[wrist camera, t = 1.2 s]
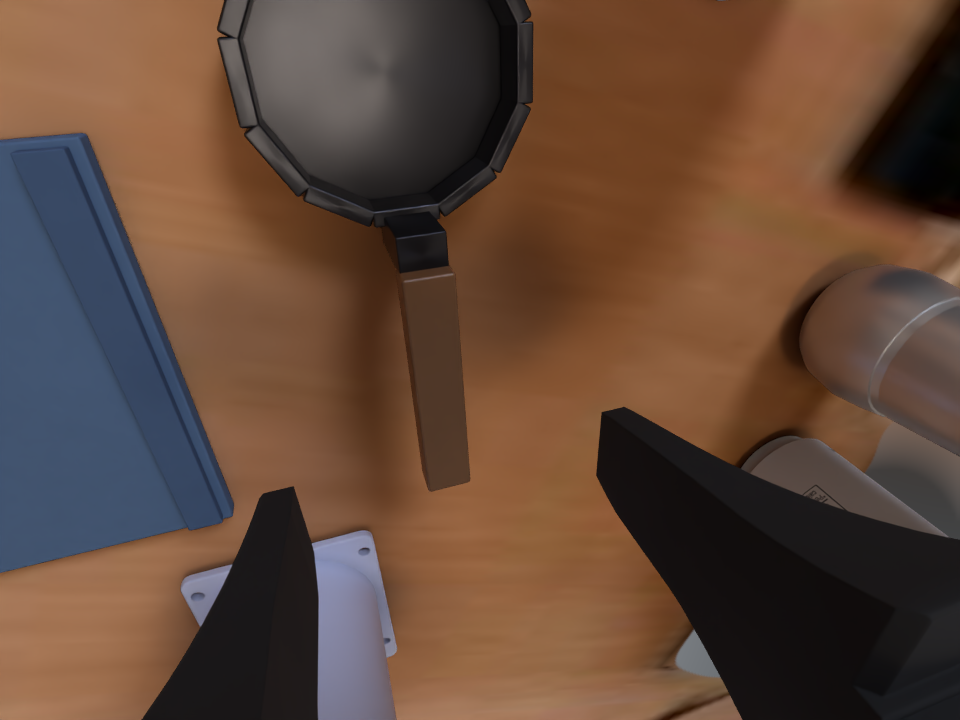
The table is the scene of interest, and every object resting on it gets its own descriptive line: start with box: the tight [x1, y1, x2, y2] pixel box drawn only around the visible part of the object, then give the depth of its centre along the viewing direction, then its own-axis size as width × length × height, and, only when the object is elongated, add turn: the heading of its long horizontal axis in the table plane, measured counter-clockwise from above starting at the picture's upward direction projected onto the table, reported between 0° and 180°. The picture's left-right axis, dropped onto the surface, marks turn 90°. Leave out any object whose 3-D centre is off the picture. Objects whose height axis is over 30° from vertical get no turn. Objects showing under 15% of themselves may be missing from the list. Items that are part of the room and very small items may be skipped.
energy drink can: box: [741, 436, 948, 537], centre depth 26 cm, size 6×6×15 cm
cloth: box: [0, 133, 234, 573], centre depth 17 cm, size 14×9×1 cm, turn 2°
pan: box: [217, 0, 533, 491], centre depth 16 cm, size 16×8×4 cm, turn 2°
